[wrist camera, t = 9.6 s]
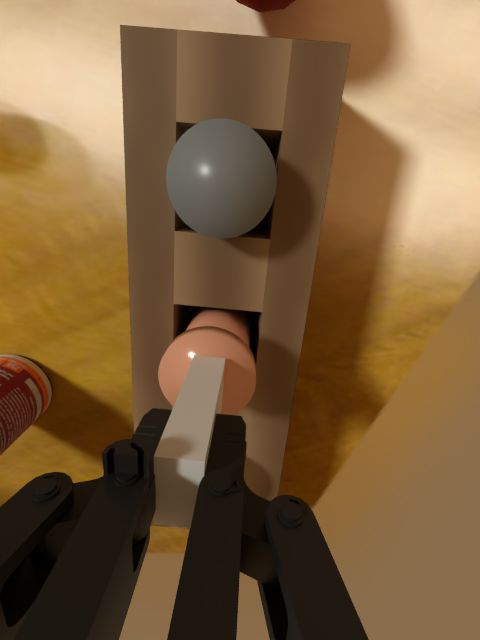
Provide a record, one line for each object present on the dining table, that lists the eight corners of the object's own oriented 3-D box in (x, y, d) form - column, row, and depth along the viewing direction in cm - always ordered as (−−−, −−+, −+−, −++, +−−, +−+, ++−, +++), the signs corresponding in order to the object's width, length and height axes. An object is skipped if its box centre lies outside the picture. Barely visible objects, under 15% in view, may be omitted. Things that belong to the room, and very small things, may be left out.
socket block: (159, 463, 31) (137, 523, 25) (158, 72, 20) (120, 25, 15) (268, 474, 31) (270, 537, 25) (324, 86, 20) (350, 43, 14)
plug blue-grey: (195, 221, 23) (165, 233, 15) (198, 142, 21) (166, 113, 14) (265, 227, 23) (270, 243, 15) (273, 149, 21) (283, 123, 14)
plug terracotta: (187, 348, 25) (158, 415, 17) (189, 285, 23) (158, 329, 16) (252, 355, 25) (251, 424, 17) (259, 292, 23) (260, 339, 16)
